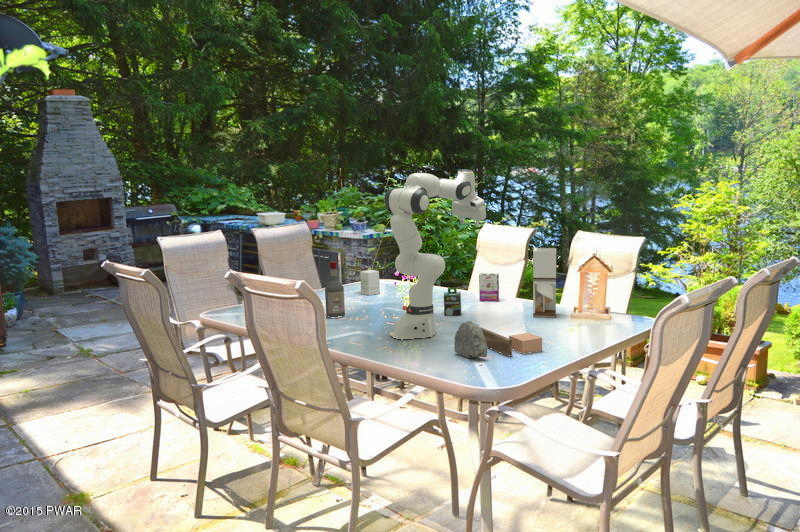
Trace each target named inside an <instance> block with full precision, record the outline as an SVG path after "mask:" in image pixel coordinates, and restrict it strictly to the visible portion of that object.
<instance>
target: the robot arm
mask: <svg viewBox="0 0 800 532" xmlns="http://www.w3.org/2000/svg"><path fill="white" fill-rule="evenodd" d="M433 197H436V198H438V199H447V200H448V199H449V200H451V203H452V204H451V214H452V215H453V216H457V219H458V220H459V222H460V223H459V224H460V225H464V224H465V220H464V218H467V219H472V220H475V223H473V226H474V227H475V228H479V226H480V225H479V224H480V222H481V221H483V220H485V219H486V218H487V211H486V206H485V205H484V204H485V200H484V199H483V198H481V197H479V196H478V194H477V192H476V179H475V174H474V171H473V170H472V169H468V168H467V169H466V168H465V169H463V168H462V169H459V170H457V177H456V178H454V179H449V178H442V177H437V176H435V175H434V174H432V173H427V172H415V173H411V174H409V175H408V176H407V178H406V181H405V187H404V188H403V187H400V188H398V187H394V188H393V187H392V188H390V189H388V190H387V191H386V192H385V194H384V198H383V201H384V206H385V208H386V210H387V213H388V214H389V215H390V216H391V217H390V221H389V222H390V227H391V232H392V235H393V237H394V240H395V241H396V244H397V246H398V249H399V254H398V255H397V256H396V258H395V262H394V266H395V269H396V271H397V273H400V274H402V275H406V276H412V277H417V282H416V283H415V284H413V285H412V286H410V287H409V289H408V302H409V304H408V306H406V305H403V306H402V307H401V309H402V310H403V311H406V312H405V314H404V315H402V316H401V317H400V318H399V319H398V320H396V322H395V324H394V328H393V329H394V330H393V331H390V332H389V336H390V337H391V336H392V337H393V339H394V338H396V339H395V340H397V339H401V340H400V341H404V340H403V339H412V340H415V339H414V338H422V339H427V338H426V337H431V338H433V337H432V336H435V335H436V334H437V330H436V326H435V321H434V320H435V319H434V314H435V313H434V304H433V290H434V285H435V283H436V281H437V279H438V278H439V277H441V276H442V275H443V274H444V272H445V269H446V261H445V259H444V258H443V256H441V255H438V254H434V253H421V252H419V251H420V250H421V248H422V246H423V239H422V237H421V235H420V231H419V230H418V227H417V225H416V223H415V222H414V220H413V216H412V215H413V214H415V215H419V214H420V215H421V214H424V213H426V212H427V210H428V209H429V206H430V198H433ZM392 337H391V338H392Z"/></svg>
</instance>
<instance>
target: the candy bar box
mask: <svg viewBox="0 0 800 532" xmlns="http://www.w3.org/2000/svg"><path fill="white" fill-rule="evenodd" d="M478 282H479V284H478V285H479V286H478V288H479V289H478V290H479V302H485V301H498V302H499V301H500V272H499V273H497V272H496V273H495V272H491V273H489V272H485V273H484V272H483V273H482V272H480V273H479V274H478Z"/></svg>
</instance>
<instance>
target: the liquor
mask: <svg viewBox="0 0 800 532" xmlns="http://www.w3.org/2000/svg"><path fill="white" fill-rule="evenodd" d="M337 267H338V266H337V261H330V262H329V268H330V279H329V281H328V282H327V283H326V284H325V287H324V295H325V296H324V297H325V314H327V315H326V317H327V316H329V317H338V316H344V315H345V316H346V307H345V306H346V305H345V288H344V285H343V283H341V281H339V280H338V274H337V273H338V272H337ZM345 316H344V317H345ZM329 317H328V318H329Z"/></svg>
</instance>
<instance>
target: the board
mask: <svg viewBox="0 0 800 532" xmlns="http://www.w3.org/2000/svg"><path fill="white" fill-rule="evenodd" d="M480 328H481V330H482V332H483V334H484V337H485V339H486V345H487V347H489V348H492V349H494V350H496V351H498V352H501V353H503V354H505V355H507V356H509V355H512V356H513V350H512V340H511V339H509V337H506V336H504V335H501V334H499V333H496V332H494V331H491V330H489V329H487V328H483V327H480ZM489 348H488V349H489ZM492 349H491V350H492ZM494 350H493V351H494ZM496 351H495V352H496ZM498 352H497V353H498ZM501 353H500V354H501ZM503 354H502V355H503ZM505 355H504V356H505ZM507 356H506V357H507ZM509 357H510V356H509Z"/></svg>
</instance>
